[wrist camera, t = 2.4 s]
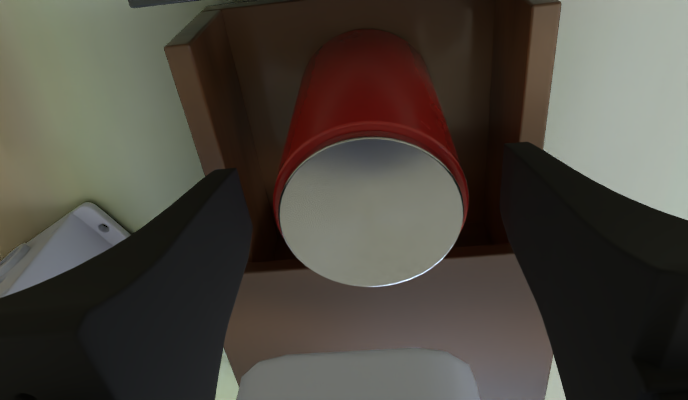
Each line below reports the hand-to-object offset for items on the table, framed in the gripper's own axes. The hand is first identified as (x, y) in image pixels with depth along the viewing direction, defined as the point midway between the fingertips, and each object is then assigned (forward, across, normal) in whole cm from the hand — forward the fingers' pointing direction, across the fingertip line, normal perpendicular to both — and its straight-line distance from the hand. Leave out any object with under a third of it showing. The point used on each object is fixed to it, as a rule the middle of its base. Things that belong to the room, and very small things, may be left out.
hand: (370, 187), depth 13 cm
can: (+6, 0, 0) cm, 6 cm away
